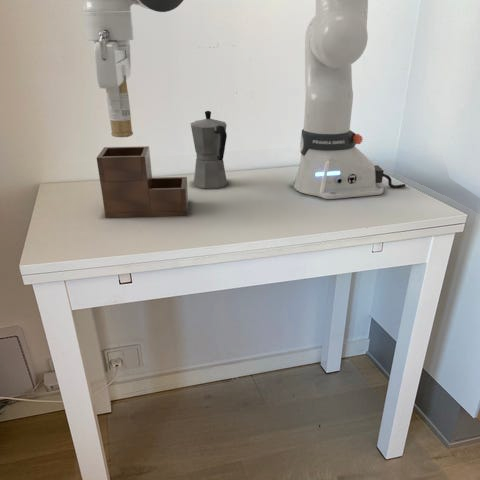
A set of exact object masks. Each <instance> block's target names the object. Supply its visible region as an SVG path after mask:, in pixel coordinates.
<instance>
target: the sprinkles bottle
mask: <svg viewBox="0 0 480 480" xmlns="http://www.w3.org/2000/svg"><path fill="white" fill-rule="evenodd" d="M122 70H123V76H124V82H123V83H122V84H121V85H120V86H119V90H120V91H119V94H120V100H121V106H122V107H121V109H120V110H113V109H112V107H111V101H110V97H109V94H108V90H107V89H105V96H106V103H107V110H108V117H109V122H110V123H109V124H110V131H111V134H110V135H111V136H112V137H115V138H129V137H132V136H133V135H134V132H133V128H132V114H131V106H130V97H129V91H128V84H127V80H126V67H125V65H122Z"/></svg>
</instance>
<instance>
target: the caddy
mask: <svg viewBox="0 0 480 480" xmlns="http://www.w3.org/2000/svg"><path fill="white" fill-rule="evenodd" d="M151 162H152V161H151V152H150V146H148V145H147V146H146V145H145V146H104V147H103V148H102V150H100V152H99V154H98V155H97V156H96V164H97V171H98V177H99V183H100V189H101V190H100V191H101V196H102V202H103V209H104V214H105V215H104V216H105V218H106V219H107V218H108V219H110V218H111V219H112V218H140V217H141V218H143V217H146V218H147V217H179V216H184V217H185V216H188V211H189V210H188V209H189V192H188V191H189V190H188V176H165V177H164V176H162V177H160V176H159V177H158V176H157V177H153V174H152V173H153V171H152V163H151Z"/></svg>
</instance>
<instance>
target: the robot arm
mask: <svg viewBox="0 0 480 480" xmlns="http://www.w3.org/2000/svg"><path fill="white" fill-rule="evenodd" d="M183 2H184V0H83V3H82V14H83V20H84V27H85V35H86V40H87V41H90V42H94V45H93V53H94V62H95V63H94V65H95V72H96V81H97V84H98V87H99V89H103V90H104V89H105V90H106V89H107V90H108V94H109V97H110V101H111V107H112V109H113V110H120V109H121V107H122V106H121V100H120V94H119V91H120V90H119V86H120V85H121V84H122V83H123V82H124V76H123V70H122V65H125V67H126V81H127V80H129V78H130V77H131V70H132V69H131V65H132V64H131V43H130V41H134V40H135V38H134V37H135V36H134V30H133V29H134V28H133V18H132V17H133V16H132V6H133V5H135V6H139V7H141V8H143V9H147V10H151V11H153V12H158V13H167V12H171V11H173V10H175V9H177V8H178V7H179V6H180V5H181V4H183ZM368 10H369V0H315V11H314V12H315V15H314V17H313V18H311V20H310V22H309V23H308V25H307V27H306V30H305V35H304V82H305V83H304V85H305V99H304V116H303V128H302V130H301V135H300V142H299V143H300V144H299V145H300V146H299V150H300V151H299V152H300V160H299V165H298V170H297V174H296V178H295V182H294V184H293V189H294V190H296V191H297V192H299V193H302V194H305V195H309V196H315V197H318V198H322V199H324V200H337V199H346V198H357V197H358V198H359V197H368V196H379V195H382V194H383V193H384V190H385V189H384V185H383V184H382V183H383V180H384V179H383V178H385V179H386V180H387V182H388V186H389V187H390V188H391V189H401V188H406V186H407V185H406V184H405V183H402V184H396V185H395V184H393V183H392V181H393V179H392V177H391V176H390V175H388V174H386V173H384V169H382V168H381V167H380V165H376V164H375V165H374V162H372V160H371V159H370V158H368V156H366V155H365V153H363V152H362V151H361V150H360V149H359V148H357V146H356V145H360V144H362V143H363V140H364V139H363V136H362V135H360V133H356V132H354V131H352V130H351V121H352V110H353V102H354V91H353V73H352V71H353V70H352V65H353V64H354V63H355V62H357V61H358V60H359V59H360V58H361V57H362V56H363V54H364V52H365V50H366V48H367V44H368V39H369V37H368V34H369V33H368V13H369V11H368Z"/></svg>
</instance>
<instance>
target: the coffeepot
mask: <svg viewBox="0 0 480 480" xmlns="http://www.w3.org/2000/svg"><path fill="white" fill-rule="evenodd" d="M204 115H205V118H204V119H199V120H194V121H192V122H190V129H191V133H192V140H193V145H194V150H195V151H194V152H195V153H196V154H195V156H196V159H195V168H194V177H193V185H194V187H197V188H199V189H203V190H205V189H206V190H214V189H221V188H223V187H226V186H227V185H228V180H227V176H226V174H227V173H226V168H225V162H224V155H225V151H226V150H225V149H226V143H227V137H228V135H227V126H228V125H227V123H226V121H223V120H218V119H214V118H211V116H212V111H210V110H206V111H204Z"/></svg>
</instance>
